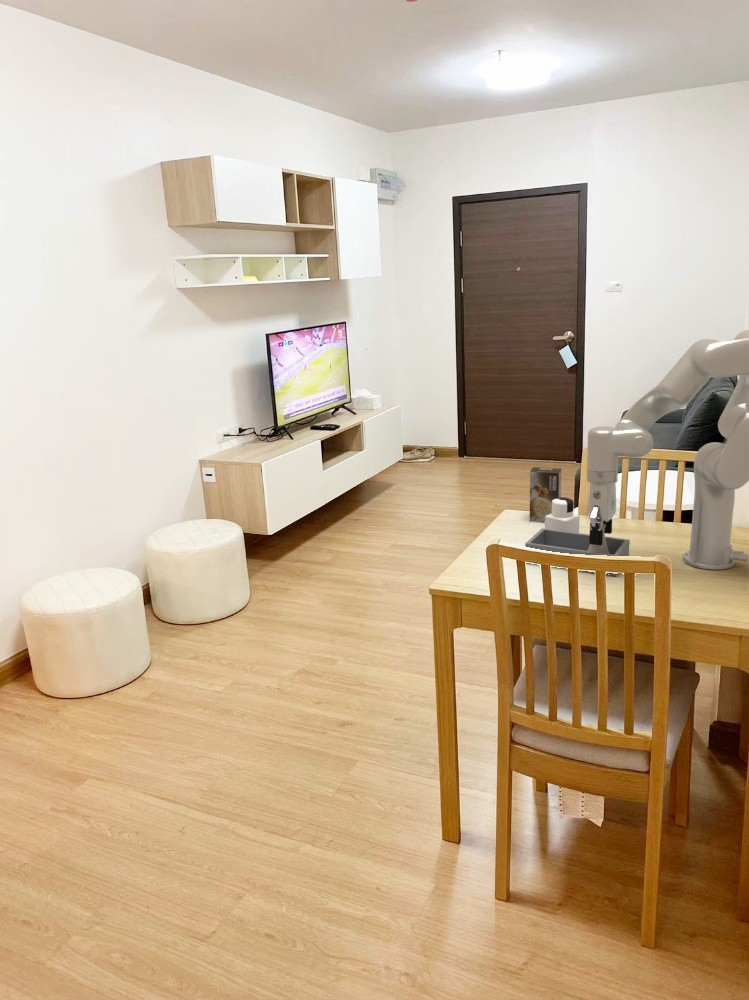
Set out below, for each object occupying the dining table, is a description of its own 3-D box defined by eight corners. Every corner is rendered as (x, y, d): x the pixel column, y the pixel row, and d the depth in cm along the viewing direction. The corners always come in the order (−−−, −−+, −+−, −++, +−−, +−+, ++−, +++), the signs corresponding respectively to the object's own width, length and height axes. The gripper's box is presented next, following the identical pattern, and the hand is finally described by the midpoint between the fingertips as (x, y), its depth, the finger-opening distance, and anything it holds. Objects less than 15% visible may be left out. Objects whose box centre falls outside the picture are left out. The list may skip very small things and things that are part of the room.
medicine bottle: (558, 533, 231) (559, 494, 228) (579, 538, 226) (580, 498, 223) (544, 539, 227) (545, 499, 223) (564, 544, 222) (566, 504, 218)
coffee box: (561, 517, 245) (563, 468, 241) (558, 523, 240) (560, 473, 235) (532, 515, 249) (533, 466, 244) (528, 521, 243) (529, 471, 238)
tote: (628, 559, 209) (629, 539, 207) (616, 576, 197) (617, 556, 196) (541, 546, 220) (542, 528, 219) (524, 562, 209) (525, 543, 207)
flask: (613, 565, 202) (615, 529, 199) (584, 564, 203) (585, 528, 201) (610, 556, 209) (612, 520, 206) (582, 555, 210) (584, 519, 207)
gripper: (608, 485, 190) (607, 551, 195) (625, 468, 205) (623, 530, 209) (578, 482, 194) (577, 547, 199) (596, 466, 208) (595, 527, 213)
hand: (600, 538), depth 204 cm, fingers open, 9 cm apart
